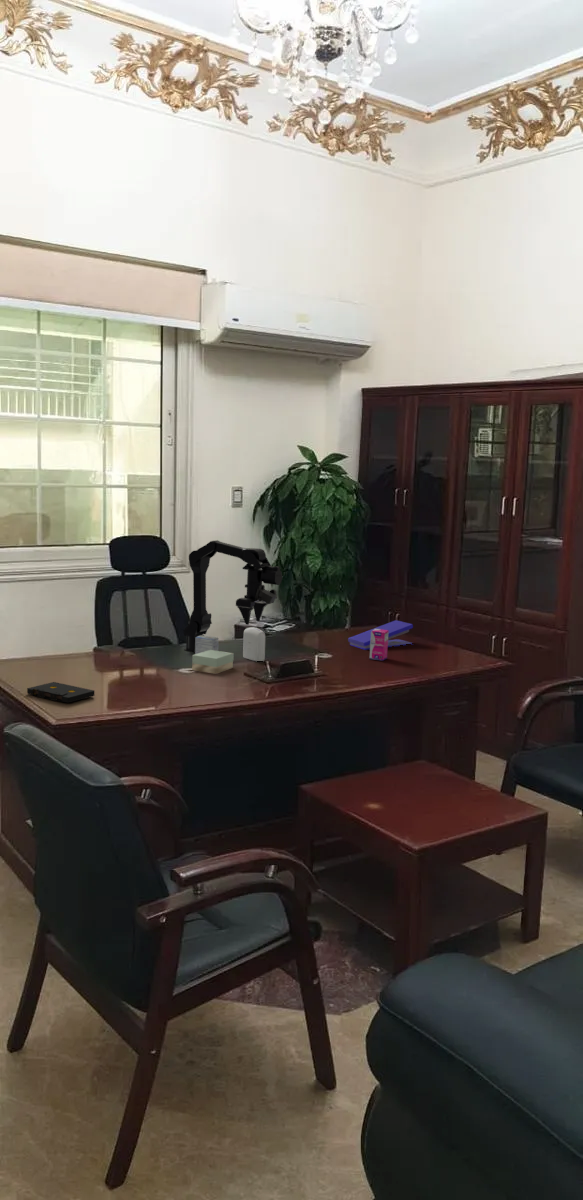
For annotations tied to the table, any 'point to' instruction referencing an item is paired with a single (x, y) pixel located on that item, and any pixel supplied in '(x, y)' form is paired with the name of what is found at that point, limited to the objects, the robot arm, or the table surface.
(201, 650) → the medicine box
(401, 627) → the stapler
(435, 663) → the table surface
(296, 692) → the table surface
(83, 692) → the cassette tape
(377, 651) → the supplement box
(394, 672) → the table surface
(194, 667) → the tower base block
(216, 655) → the tower top block
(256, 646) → the photo printer
